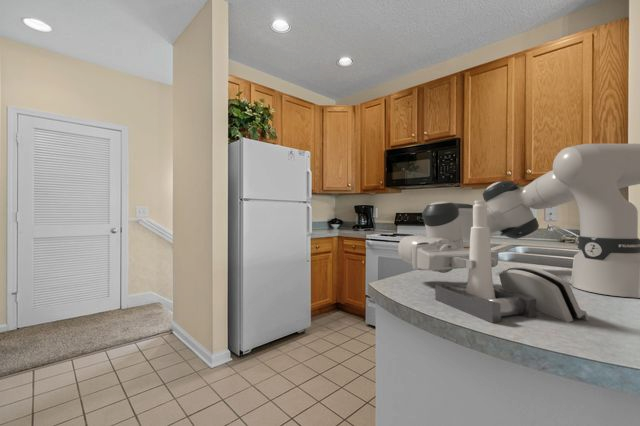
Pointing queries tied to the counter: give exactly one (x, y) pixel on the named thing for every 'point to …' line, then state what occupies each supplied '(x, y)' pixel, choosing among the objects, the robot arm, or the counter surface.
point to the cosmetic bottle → (480, 255)
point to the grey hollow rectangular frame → (486, 303)
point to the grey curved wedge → (543, 291)
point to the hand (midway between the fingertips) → (484, 263)
